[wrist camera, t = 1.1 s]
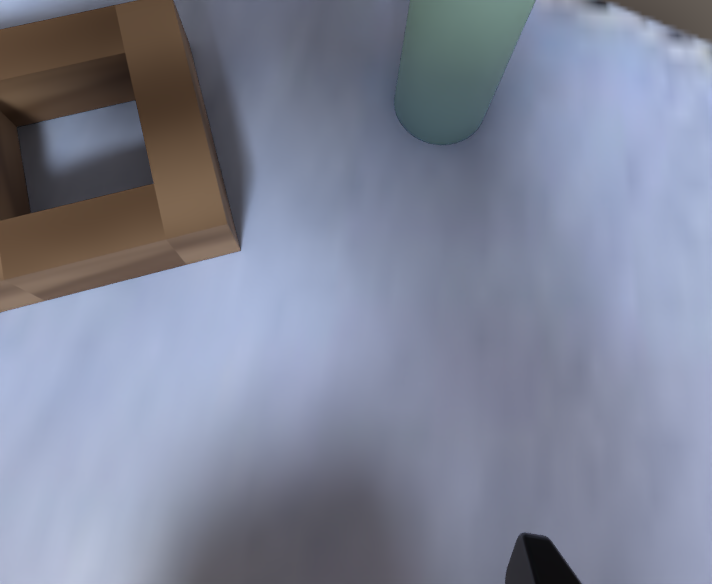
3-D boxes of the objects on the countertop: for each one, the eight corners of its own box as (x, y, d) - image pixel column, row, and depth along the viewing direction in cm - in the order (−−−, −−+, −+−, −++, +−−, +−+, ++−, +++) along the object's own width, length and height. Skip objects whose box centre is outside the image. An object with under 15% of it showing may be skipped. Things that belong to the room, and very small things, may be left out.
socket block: (240, 250, 24) (227, 223, 21) (-13, 315, 23) (-62, 296, 21) (188, 42, 27) (170, -7, 24) (-44, 94, 26) (-92, 48, 23)
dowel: (503, 116, 26) (600, -78, 17) (428, 161, 26) (482, -14, 16) (451, 48, 27) (513, -175, 17) (376, 89, 26) (398, -118, 17)
